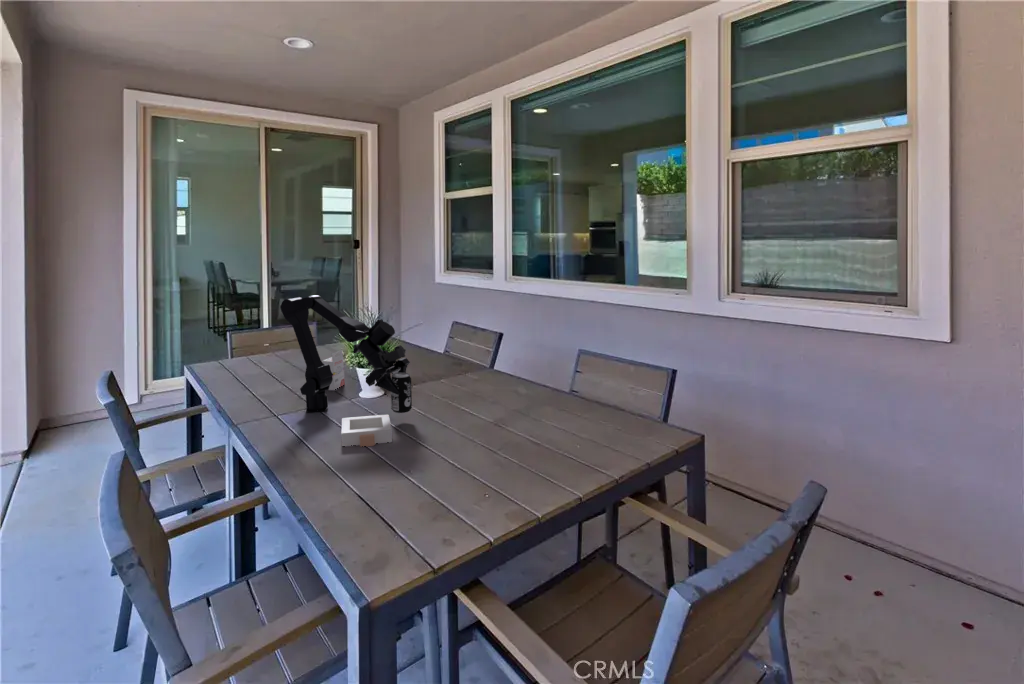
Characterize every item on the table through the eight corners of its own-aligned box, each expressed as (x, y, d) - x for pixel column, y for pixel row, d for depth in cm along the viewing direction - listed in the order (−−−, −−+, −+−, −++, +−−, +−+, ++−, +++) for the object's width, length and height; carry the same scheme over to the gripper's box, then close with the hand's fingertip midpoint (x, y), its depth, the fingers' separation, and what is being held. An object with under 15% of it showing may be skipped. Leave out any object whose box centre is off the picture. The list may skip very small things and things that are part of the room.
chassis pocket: (341, 448, 156) (341, 435, 155) (342, 430, 170) (342, 418, 170) (392, 444, 159) (392, 430, 159) (388, 426, 174) (388, 414, 173)
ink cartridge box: (333, 384, 223) (332, 348, 220) (345, 385, 222) (343, 349, 219) (322, 390, 215) (320, 353, 212) (334, 390, 214) (332, 353, 211)
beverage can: (413, 407, 182) (412, 372, 180) (410, 413, 176) (409, 377, 174) (393, 407, 182) (392, 372, 180) (389, 413, 176) (388, 377, 173)
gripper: (372, 344, 167) (405, 383, 166) (404, 334, 184) (434, 369, 183) (351, 366, 171) (383, 405, 170) (384, 355, 188) (413, 389, 187)
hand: (404, 391), depth 177 cm, fingers closed on beverage can, 7 cm apart
